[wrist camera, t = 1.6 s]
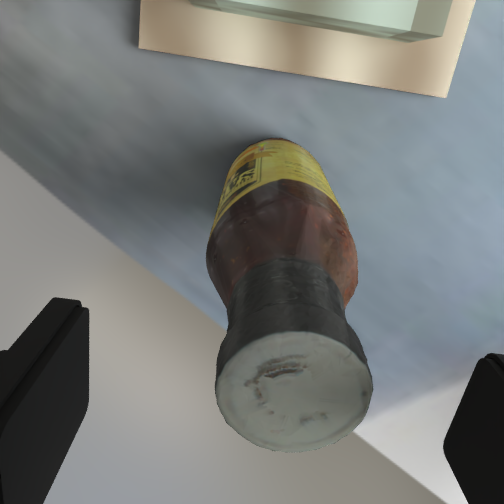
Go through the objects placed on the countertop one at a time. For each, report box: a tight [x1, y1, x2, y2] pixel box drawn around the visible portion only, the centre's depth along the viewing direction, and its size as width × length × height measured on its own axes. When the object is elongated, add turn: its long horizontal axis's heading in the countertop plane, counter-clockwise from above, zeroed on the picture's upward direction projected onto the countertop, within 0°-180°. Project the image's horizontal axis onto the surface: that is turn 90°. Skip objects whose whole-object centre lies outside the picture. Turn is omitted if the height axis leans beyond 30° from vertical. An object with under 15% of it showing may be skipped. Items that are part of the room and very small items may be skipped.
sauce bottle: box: [206, 138, 373, 452], centre depth 20 cm, size 7×6×20 cm
